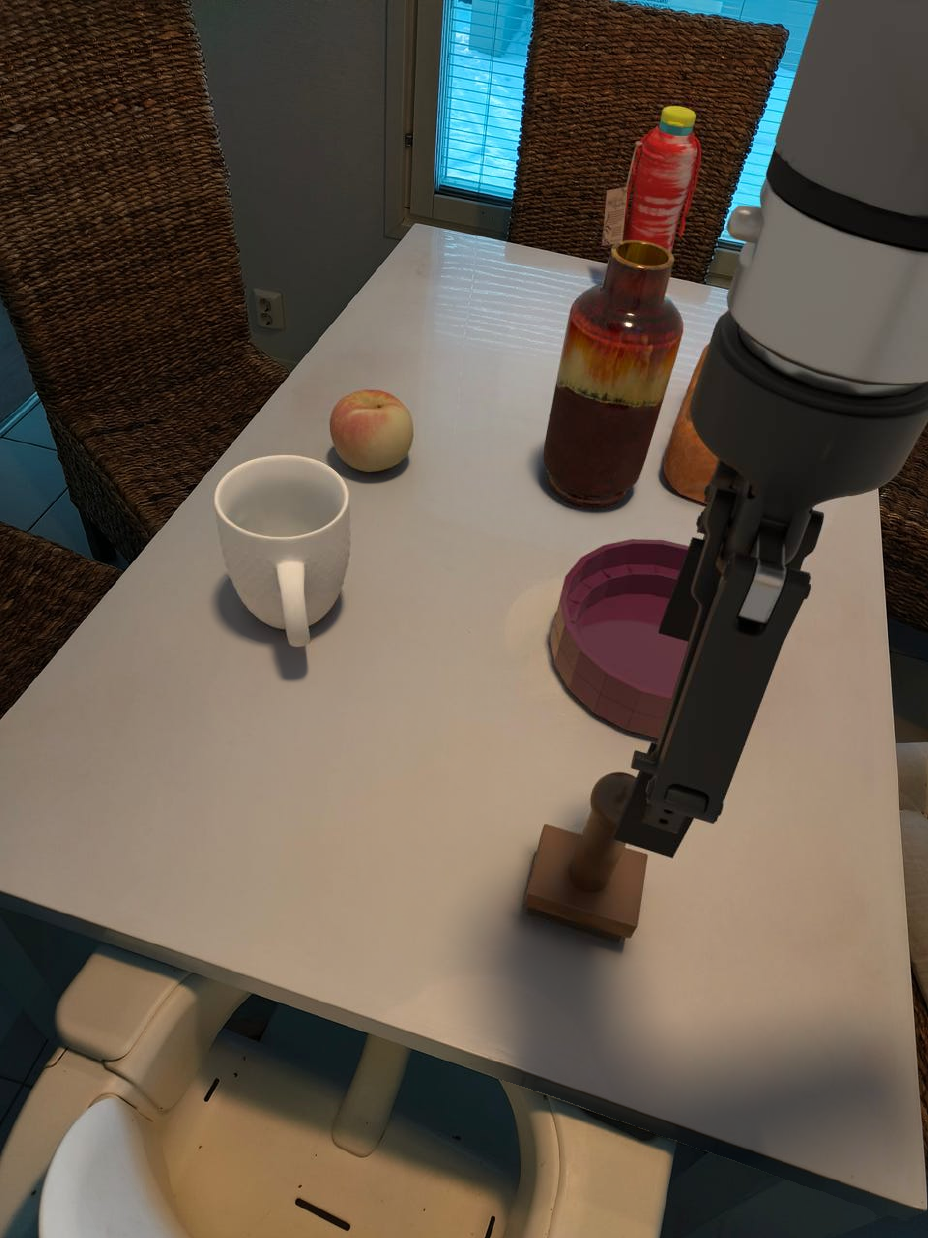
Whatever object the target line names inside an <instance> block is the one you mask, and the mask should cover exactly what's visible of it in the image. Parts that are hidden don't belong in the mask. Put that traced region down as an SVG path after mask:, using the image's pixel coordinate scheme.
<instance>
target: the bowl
mask: <svg viewBox="0 0 928 1238" xmlns="http://www.w3.org/2000/svg"><path fill="white" fill-rule="evenodd" d="M688 548H689V545H686V544H681V543H676V542H672V541H670V540H669V541H668V540H663V539H644V538H643V539H641V538H640V539H637V538H632V539H631V538H630V539H627V540H622V541H617V542H612V543H608V544H604V545H601V546H599V547H597V548H596V549H594V550H592V551H590V552H589V553H587V554H585V555H583V556H582V557H580V558H579V559H578V561H576V563H575V564H574V565H573V567H571V569H570V570H569V571H568V572H567V574H566V575H565V577H564V581H563V584H562V588H561V592H560V595H559V599H558V605H557V608H556V612H555V615H554V620H553V623H552V624H553V625H552V629H551V632H550V635H549V636H550V637H549V642H550V647H551V653H552V659H553V664H554V667H555V668H556V670H557V673H559V675H560V677H561V679H562V680H563V682H564V683H565V685H566V688H568V690H569V692H570V693H572V694H573V696H574V697H576V698H577V699H578V700H579V701H580V702H581V703H582V704H584V705H585V706H586V707H587V708H588V709H589V710H590V711H591V712H592V713H593V714H595V715H597V716H599V717H601V718H603V719H604V720H606V721H609V722H610V723H612V724H614V725H616V726H618V727H619V728H621V729H623V730H626V731H629V732H632V733H635V734H639V735H644V736H647V737H651V738H655V739H659V737H660V734H661V730H662V727H663V724H664V721H665V717H666V714H667V711H668V707H669V704H670V701H671V698H672V694H673V691H674V688H675V685H676V681H677V678H678V675H679V671H680V668H681V665H682V662H683V658H684V655H685V652H686V649H687V645H688V642H687V641H684V640H680V639H677V638H673V637H670V636H666V635H663V634H659V633H658V632H659V628H660V623H661V621H662V618H663V615H664V613H665V610H666V607H667V605H668V602H669V599H670V597H671V594H672V591H673V588H674V586H675V583H676V580H677V578H678V575H679V572H680V570H681V567H682V564H683V561H684V559H685V556H686V553H687V551H688ZM779 655H781V652H780V653H779Z"/></svg>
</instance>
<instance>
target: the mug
mask: <svg viewBox="0 0 928 1238" xmlns="http://www.w3.org/2000/svg"><path fill="white" fill-rule="evenodd" d="M213 504H214V511H215V517H216V519H215V521H216V525H217V527H216V528H217V533H218V536H219V544H220V548H221V550H222V551H221V552H222V557H223V558H224V566H225V568H226V569H227V575H228V577H229V578H230V580H231V583H232V586H233V588H234V589H235V591H236V593H237V595H238V597H239V598H240V600H241V602H242V603H243V604H244V606H245V607H246V608H247V610H248V611H249V612H250V613H252V614H253V615H254V616H255V617H256V618H257V619H259V620H260V621H261V622H262V623H264V624H266V625H268V626H270V627H273V628H276V629H279V630H285V632H286V636H287V641H288V644H289V645H290V646H291V647H294V648H301V647H306V646H308V645H310V644H311V635H310V628H309V627H310V626H312V625H314V624H316V623H317V622H318V621H320V620H321V619H322V618H323V617H325V616H326V614H327V613H329V611H330V610H331V608H332V607H333V606H334V604H335V602H336V601H337V599H338V598H339V596H340V593H341V592H342V587H343V585H344V584H345V578H346V576H347V573H348V572H347V571H348V566H349V557H350V555H351V554H350V548H351V512H350V492H349V489H348V486H347V484H346V482H345V480H344V479H343V478H342V476H341V475H340V474H339V473H338V472H337V471H336V470H335V469H334V468H332V467H330V466H329V465H327V464H325V463H323V462H321V461H319V460H317V459H314V458H310V457H305V456H303V455H302V456H301V455H296V454H295V455H294V454H278V455H267V456H262V457H258V458H254V459H251V460H248V461H245V462H243V463H241V464H239V465H237V466H235V467H233V468H232V469H230V471H228V472H227V473H226V474H225V475H224V476H223V477H222V478H221V479H220V480H219V482H218V483H217V486H216V488H215V490H214V495H213Z"/></svg>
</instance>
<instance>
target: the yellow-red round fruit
mask: <svg viewBox="0 0 928 1238" xmlns="http://www.w3.org/2000/svg"><path fill="white" fill-rule="evenodd" d="M329 434H330V438H331V441H332V444H333V446H334V448H335V451H336V452H337V454H338V456H339V458H340V459H341V460H342V461H343V462H344V463H345V464H346V465H348V466H349V467H351V468H353V469H355V470H358V471H361V472H367V473H372V472H379V471H384V470H387V469H391V468H392V467H394V466H396V465H398V464H400V463H401V462H402V461H403V460H404V459H405V458H406V456H407V455H408V454H409V451H410V450H411V448H412V444H413V441H414V422H413V418H412V415H411V412H410V410H409V409H408V407H407V406H406V405H405V404H404V403H403V401H401V400H400V398H398V397H397V396H395V395H394V394H393V393H390V392H387V391H384V390H382V389H381V390H380V389H361V390H360V389H359V390H357V391H354V392H351V393H349V394H347V395H345V396H343V397H342V398H341V399H339V400H338V401H337V402H336V404H335V405H334V407H333V409H332V411H331V414H330V418H329Z"/></svg>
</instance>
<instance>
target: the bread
mask: <svg viewBox="0 0 928 1238" xmlns="http://www.w3.org/2000/svg"><path fill="white" fill-rule="evenodd" d="M727 312H729V309H728V308H727V310H726V311H725V312H724V313H722V315H720V316H719V317H718V319H717V321H718V320H719V319H720V318H721V317H722V316H723V315H724V314H725V313H727ZM708 346H709V343H708V344H706V345H705V346H704V348H703V349H702V352H701V354H700V356H699V358H698V361H697V364H696V366H695V367H694V369H693V373H692V376H691V377H690V378H691V379H690V381H689V384H688V387H687V389H686V392H685V394H684V398H683V401H682V404H681V407H680V409H679V411H678V414H677V417H676V419H675V421H674V424H673V426H672V429H671V433H670V437H669V440H668V444H667V447H666V448H667V449H666V451H665V455H664V459H663V463H662V464H663V471H664V476H665V477H666V479H667V481H668V483H669V484H670V486H671V487H672V489H674V490H675V491H676V492H677V493H678V494H680V495H681V496H684V497H687V498H690V499H692V500H695V501H697V502H700V503H702V504H705V505H707V504H708V503H706V502H704V499H705V495H703V494H704V490H705V487H706V485H707V486H708V485H709V483H710V481H711V478H712V476H713V474H714V472H715V468H716V465H717V461H718V458H717V457H716V456H715V455H714V454H713V453H712V452H711V451H710V450H709V449H708V448H707V447H706V446H705V445H704V443H703V442H702V441H701V439H700V438H699V436H698V434H697V433H696V431H695V429H694V426H693V423H692V420H691V413H690V406H691V400H692V396H693V393H694V390H695V387H696V384H697V381H698V378H699V374H700V371H701V368H702V365H703V362H704V359H705V356H706V353H707V349H708Z"/></svg>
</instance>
